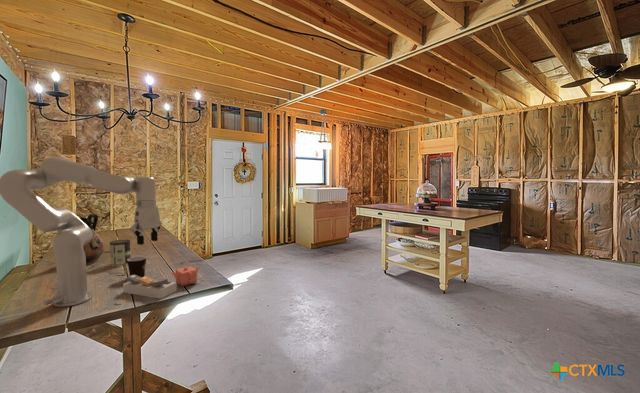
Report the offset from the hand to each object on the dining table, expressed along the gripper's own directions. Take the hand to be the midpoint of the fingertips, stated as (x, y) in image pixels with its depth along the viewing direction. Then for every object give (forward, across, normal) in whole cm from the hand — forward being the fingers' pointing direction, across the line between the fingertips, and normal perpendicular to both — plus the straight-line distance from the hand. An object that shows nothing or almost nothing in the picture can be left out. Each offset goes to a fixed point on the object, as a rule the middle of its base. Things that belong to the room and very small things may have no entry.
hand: (147, 242), depth 129 cm
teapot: (+24, +14, -8) cm, 29 cm away
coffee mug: (+24, +15, +23) cm, 36 cm away
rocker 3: (+18, -1, -7) cm, 19 cm away
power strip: (+24, +1, +2) cm, 24 cm away
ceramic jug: (+24, +26, +76) cm, 84 cm away
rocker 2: (+18, -1, 0) cm, 18 cm away
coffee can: (+24, +28, +53) cm, 65 cm away
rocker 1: (+18, -1, +7) cm, 19 cm away
